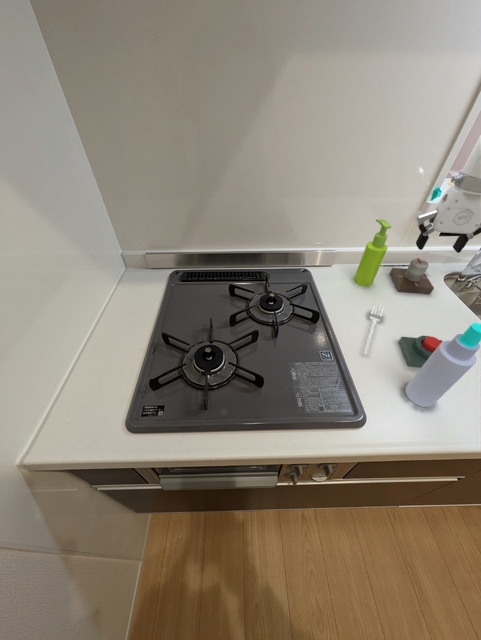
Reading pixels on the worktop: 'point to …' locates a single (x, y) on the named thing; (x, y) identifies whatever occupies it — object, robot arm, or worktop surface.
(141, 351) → the worktop surface
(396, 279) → the brown flat block
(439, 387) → the spray bottle
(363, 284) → the soap dispenser
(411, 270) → the dial
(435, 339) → the button
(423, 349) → the button housing
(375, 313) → the fork
